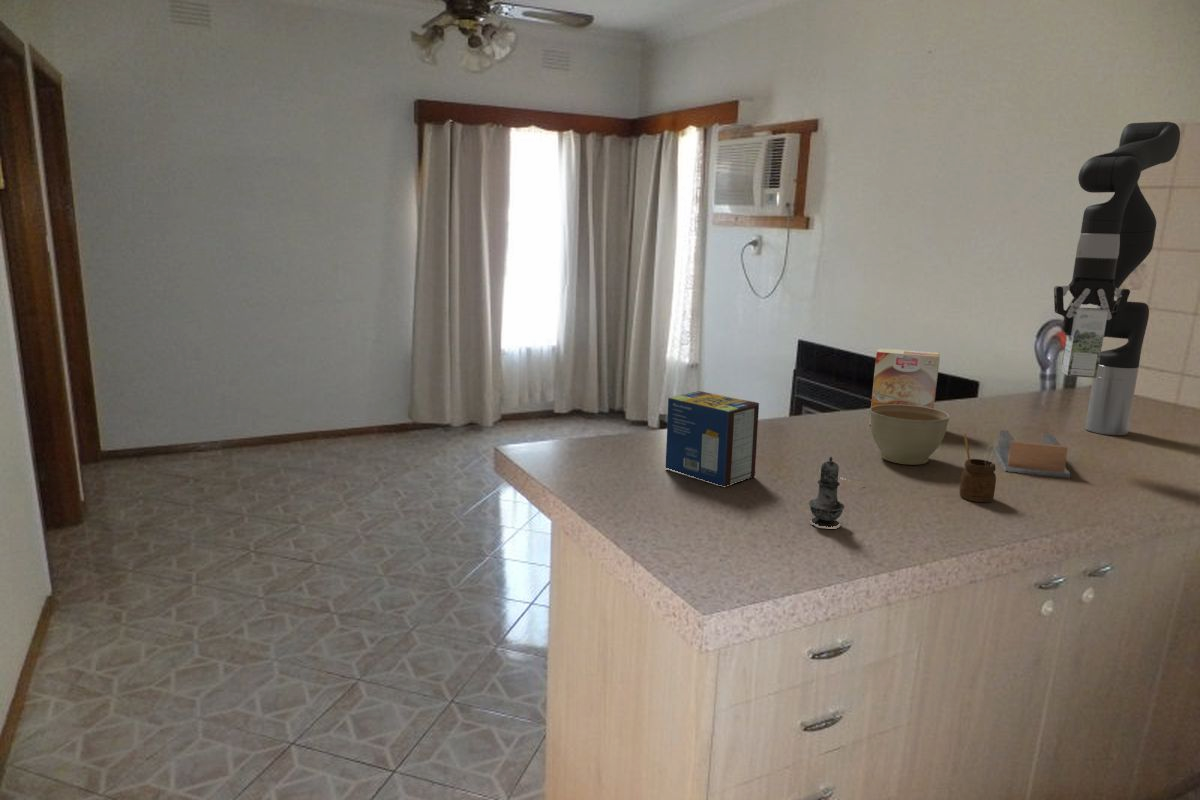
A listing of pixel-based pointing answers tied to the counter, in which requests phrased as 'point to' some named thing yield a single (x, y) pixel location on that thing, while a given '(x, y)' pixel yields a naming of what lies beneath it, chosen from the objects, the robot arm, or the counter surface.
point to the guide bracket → (1032, 456)
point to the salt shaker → (827, 497)
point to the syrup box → (1084, 343)
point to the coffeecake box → (905, 378)
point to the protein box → (712, 437)
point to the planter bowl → (907, 432)
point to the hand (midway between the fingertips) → (1084, 335)
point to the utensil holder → (978, 478)
